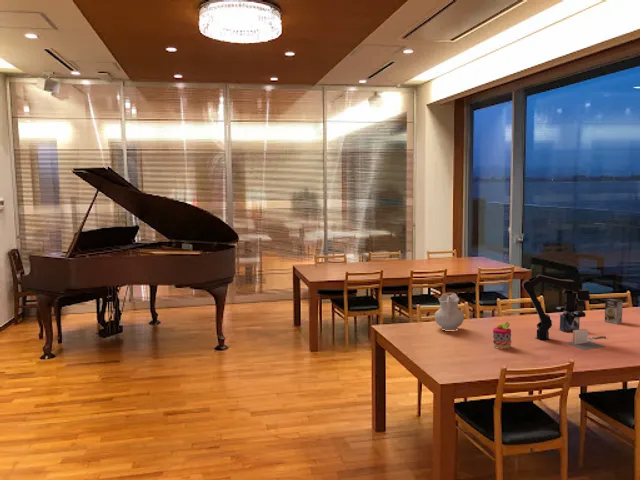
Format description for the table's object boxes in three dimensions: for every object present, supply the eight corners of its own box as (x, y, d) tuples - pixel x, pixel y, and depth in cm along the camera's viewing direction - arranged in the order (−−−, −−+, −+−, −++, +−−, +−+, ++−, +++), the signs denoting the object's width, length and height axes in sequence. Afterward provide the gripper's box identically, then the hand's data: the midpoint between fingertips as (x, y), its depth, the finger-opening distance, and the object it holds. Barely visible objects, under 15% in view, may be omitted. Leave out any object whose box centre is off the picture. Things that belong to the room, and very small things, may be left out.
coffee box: (604, 321, 371) (604, 298, 370) (610, 320, 374) (610, 297, 372) (616, 324, 363) (616, 301, 361) (622, 323, 365) (623, 300, 364)
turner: (588, 341, 325) (588, 339, 325) (582, 339, 330) (582, 337, 330) (608, 339, 330) (608, 337, 330) (601, 336, 335) (601, 335, 334)
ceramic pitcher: (467, 335, 351) (469, 298, 348) (437, 334, 351) (440, 296, 349) (459, 327, 372) (461, 292, 370) (431, 325, 372) (433, 290, 370)
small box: (564, 332, 348) (564, 316, 347) (559, 329, 354) (559, 314, 353) (579, 331, 348) (580, 315, 347) (574, 329, 354) (575, 313, 353)
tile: (575, 344, 319) (575, 331, 318) (572, 343, 321) (573, 330, 320) (587, 342, 322) (587, 329, 321) (584, 341, 324) (585, 328, 323)
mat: (584, 350, 308) (584, 350, 308) (564, 343, 323) (564, 342, 323) (606, 347, 313) (606, 346, 312) (585, 340, 328) (585, 339, 328)
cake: (499, 350, 314) (499, 325, 312) (489, 345, 324) (489, 321, 323) (515, 348, 317) (515, 323, 315) (504, 343, 327) (504, 319, 325)
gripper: (593, 302, 320) (592, 327, 322) (570, 296, 338) (569, 320, 340) (578, 304, 317) (577, 329, 319) (555, 298, 335) (555, 322, 336)
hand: (570, 325), depth 328 cm, fingers closed
